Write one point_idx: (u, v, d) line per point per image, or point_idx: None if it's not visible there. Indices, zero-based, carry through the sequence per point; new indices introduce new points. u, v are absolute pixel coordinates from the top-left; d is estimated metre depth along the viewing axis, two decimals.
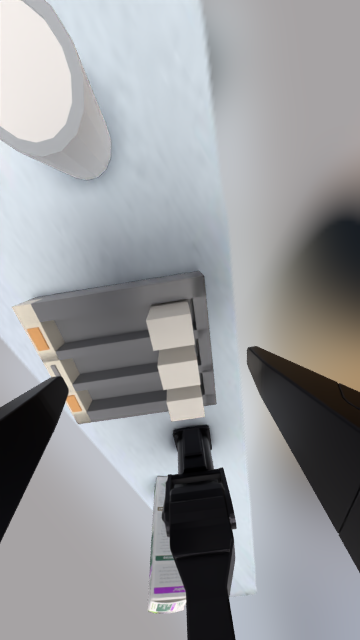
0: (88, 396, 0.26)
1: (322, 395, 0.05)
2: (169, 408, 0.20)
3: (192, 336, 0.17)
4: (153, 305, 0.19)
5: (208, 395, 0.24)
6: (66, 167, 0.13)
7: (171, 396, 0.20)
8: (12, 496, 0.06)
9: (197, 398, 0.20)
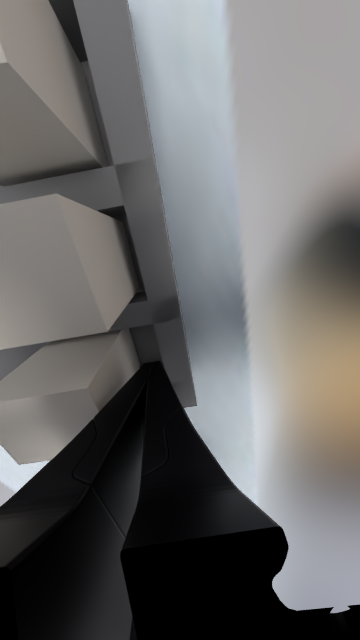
0: None
1: (153, 419, 0.05)
2: None
3: None
4: None
5: (177, 384, 0.10)
6: None
7: (2, 387, 0.06)
8: None
9: (72, 395, 0.06)
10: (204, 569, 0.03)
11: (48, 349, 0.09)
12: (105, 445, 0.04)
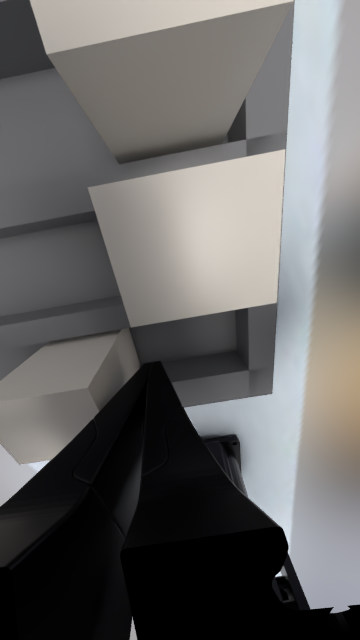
0: None
1: (153, 419, 0.05)
2: None
3: None
4: None
5: (257, 370, 0.10)
6: None
7: (3, 387, 0.06)
8: None
9: (72, 395, 0.06)
10: (204, 569, 0.03)
11: (48, 349, 0.09)
12: (105, 445, 0.04)
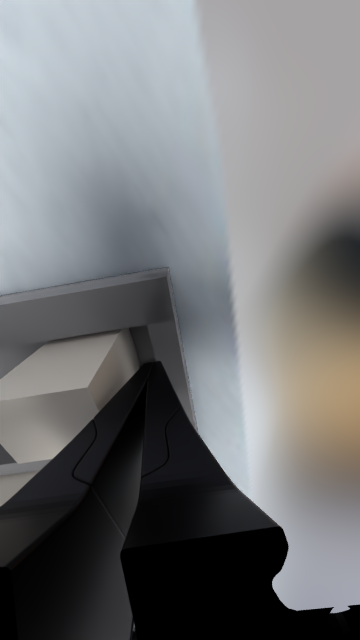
0: None
1: (153, 419, 0.05)
2: None
3: None
4: (52, 341, 0.09)
5: None
6: None
7: None
8: None
9: None
10: (204, 569, 0.03)
11: None
12: (105, 445, 0.04)
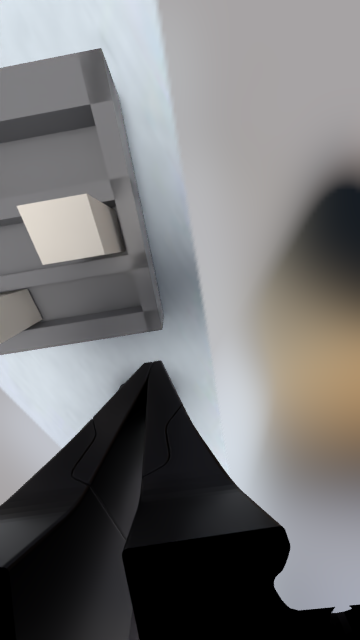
0: None
1: (154, 419, 0.05)
2: None
3: None
4: None
5: (148, 312, 0.16)
6: None
7: None
8: (141, 478, 0.06)
9: None
10: (205, 568, 0.03)
11: None
12: (104, 445, 0.04)
